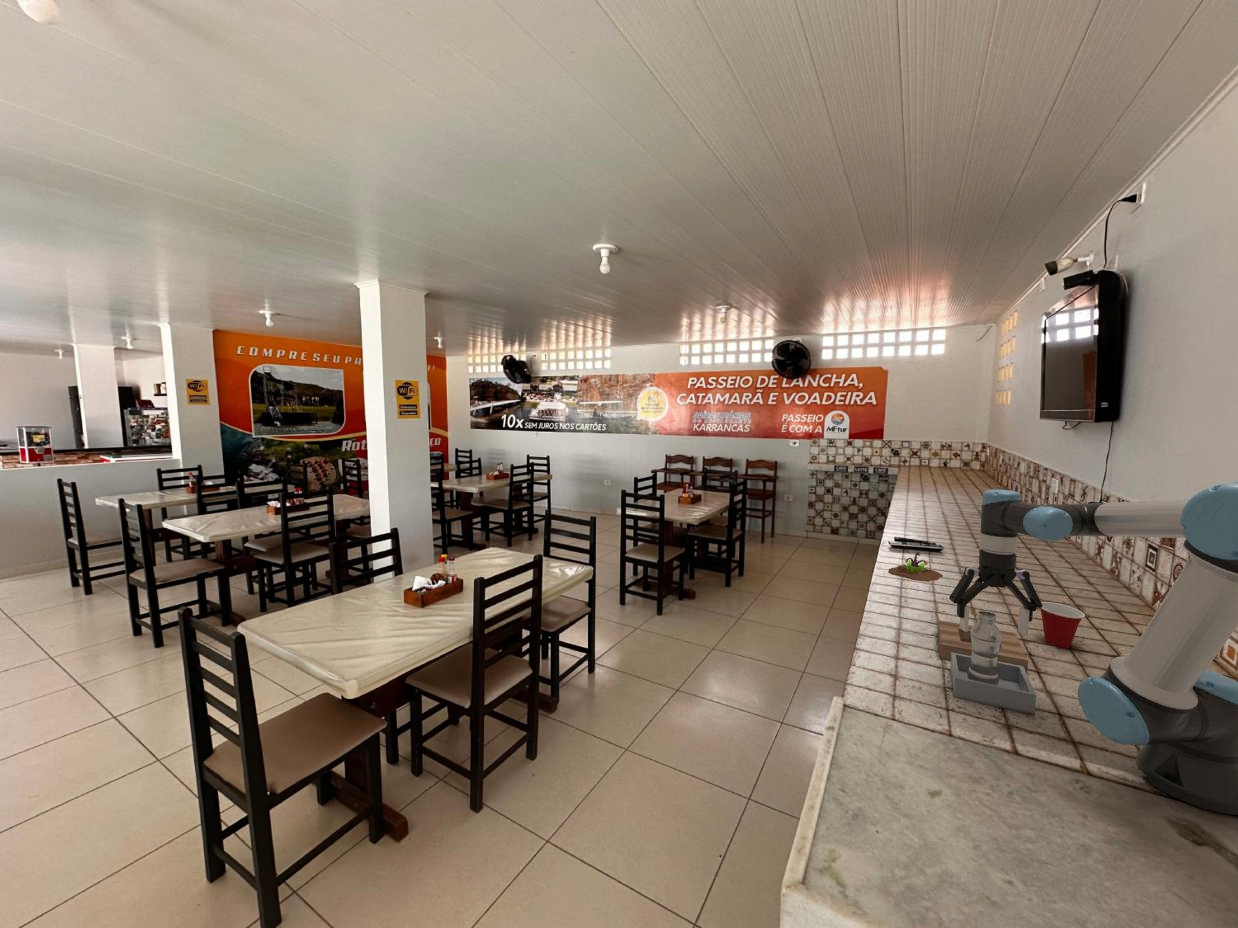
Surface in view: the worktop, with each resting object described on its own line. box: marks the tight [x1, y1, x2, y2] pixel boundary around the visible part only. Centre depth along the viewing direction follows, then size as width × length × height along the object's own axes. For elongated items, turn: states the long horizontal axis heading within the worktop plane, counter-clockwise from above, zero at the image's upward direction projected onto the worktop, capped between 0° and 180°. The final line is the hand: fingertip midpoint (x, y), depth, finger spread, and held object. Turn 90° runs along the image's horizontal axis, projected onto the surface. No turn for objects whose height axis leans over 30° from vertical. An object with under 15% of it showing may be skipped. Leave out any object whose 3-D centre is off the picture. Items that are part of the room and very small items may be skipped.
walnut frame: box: [937, 619, 1029, 674], centre depth 150 cm, size 20×20×4 cm
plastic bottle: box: [967, 610, 1002, 685], centre depth 129 cm, size 6×7×20 cm
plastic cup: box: [1039, 601, 1086, 649], centre depth 154 cm, size 11×11×12 cm
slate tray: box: [949, 652, 1037, 716], centre depth 129 cm, size 16×16×5 cm
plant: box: [887, 551, 943, 583], centre depth 221 cm, size 20×20×11 cm
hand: (992, 631), depth 128 cm, fingers open, 13 cm apart
